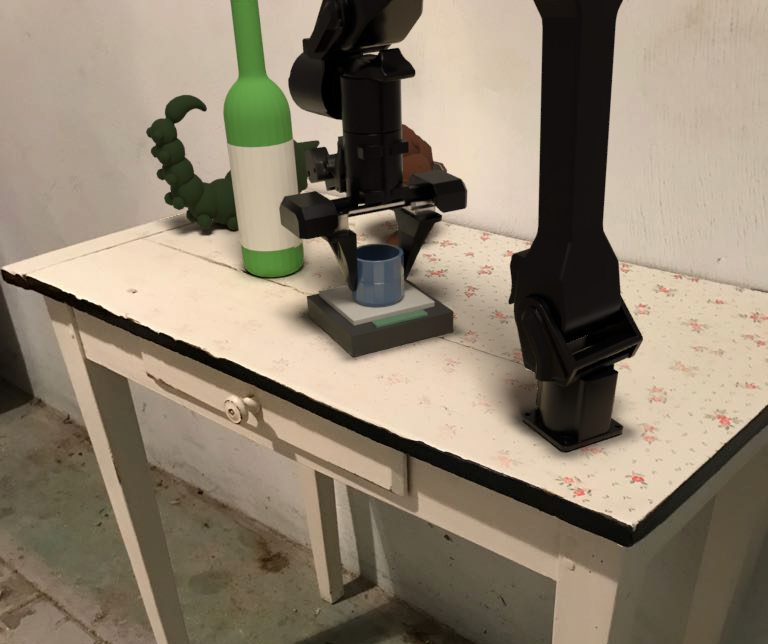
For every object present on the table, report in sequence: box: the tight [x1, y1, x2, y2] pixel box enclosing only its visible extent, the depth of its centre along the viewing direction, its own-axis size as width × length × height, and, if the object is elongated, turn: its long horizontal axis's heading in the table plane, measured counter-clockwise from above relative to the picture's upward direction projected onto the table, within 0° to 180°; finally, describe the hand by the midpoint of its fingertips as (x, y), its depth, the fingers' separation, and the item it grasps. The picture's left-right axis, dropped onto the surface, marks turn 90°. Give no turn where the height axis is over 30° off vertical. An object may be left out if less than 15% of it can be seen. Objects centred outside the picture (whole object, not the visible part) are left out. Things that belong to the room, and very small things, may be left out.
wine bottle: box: [222, 0, 305, 278], centre depth 96 cm, size 8×8×30 cm
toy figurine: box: [145, 94, 320, 231], centre depth 116 cm, size 9×19×25 cm
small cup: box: [352, 242, 404, 307], centre depth 87 cm, size 6×6×5 cm
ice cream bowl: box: [385, 123, 448, 246], centre depth 107 cm, size 11×11×15 cm
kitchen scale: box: [306, 278, 455, 358], centre depth 90 cm, size 12×12×3 cm
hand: (378, 284), depth 88 cm, fingers closed on small cup, 6 cm apart
